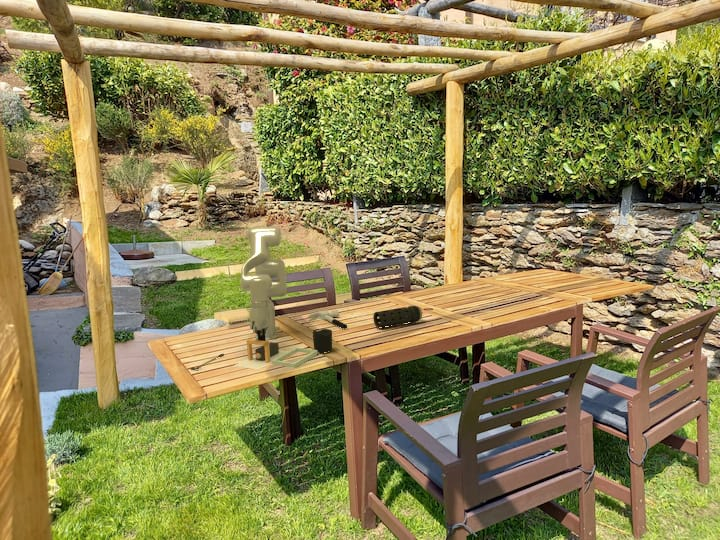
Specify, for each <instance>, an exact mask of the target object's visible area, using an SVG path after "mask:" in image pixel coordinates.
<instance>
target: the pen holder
mask: <svg viewBox="0 0 720 540" xmlns="http://www.w3.org/2000/svg"><path fill="white" fill-rule="evenodd" d="M312 339H313V340H312V341H313V350H318V353H324V352H328V351H331V350H332V351H333V330H332V329H328V328H322V329H320V330H312ZM332 351H331V352H332Z"/></svg>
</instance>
